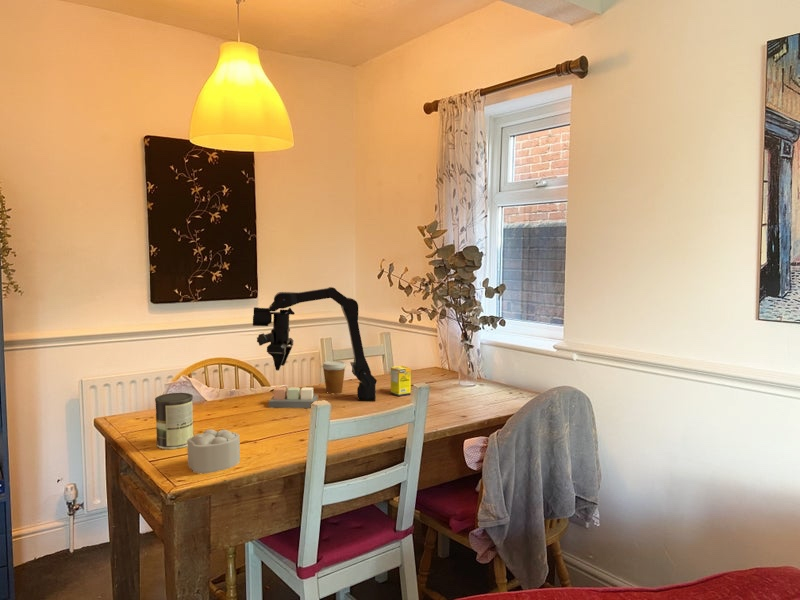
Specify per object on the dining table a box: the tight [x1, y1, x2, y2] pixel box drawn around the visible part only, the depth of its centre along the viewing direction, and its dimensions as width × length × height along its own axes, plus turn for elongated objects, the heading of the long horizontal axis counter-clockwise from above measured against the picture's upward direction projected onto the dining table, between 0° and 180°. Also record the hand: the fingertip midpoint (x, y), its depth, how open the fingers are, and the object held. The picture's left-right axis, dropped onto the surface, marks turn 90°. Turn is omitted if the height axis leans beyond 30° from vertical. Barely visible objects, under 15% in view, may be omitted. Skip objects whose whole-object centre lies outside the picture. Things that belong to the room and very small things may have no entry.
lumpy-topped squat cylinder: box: [186, 428, 241, 475], centre depth 151 cm, size 10×13×9 cm
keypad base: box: [268, 394, 319, 409], centre depth 211 cm, size 16×10×2 cm, turn 90°
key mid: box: [287, 386, 301, 400], centre depth 211 cm, size 4×4×4 cm
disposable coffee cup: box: [321, 360, 347, 394], centre depth 230 cm, size 10×10×12 cm
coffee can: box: [154, 392, 194, 450], centre depth 167 cm, size 10×10×14 cm
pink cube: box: [273, 386, 288, 399], centre depth 211 cm, size 4×4×4 cm
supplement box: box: [390, 365, 412, 397], centre depth 227 cm, size 6×6×11 cm
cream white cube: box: [300, 387, 314, 400], centre depth 211 cm, size 4×4×4 cm
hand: (280, 367), depth 210 cm, fingers open, 9 cm apart
